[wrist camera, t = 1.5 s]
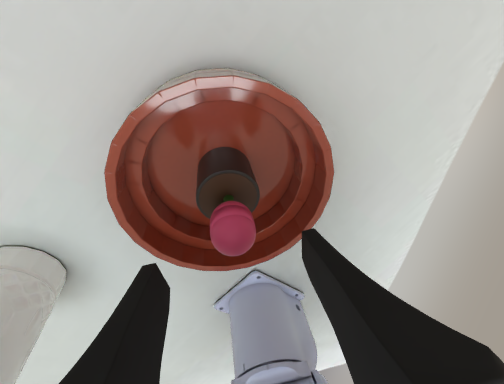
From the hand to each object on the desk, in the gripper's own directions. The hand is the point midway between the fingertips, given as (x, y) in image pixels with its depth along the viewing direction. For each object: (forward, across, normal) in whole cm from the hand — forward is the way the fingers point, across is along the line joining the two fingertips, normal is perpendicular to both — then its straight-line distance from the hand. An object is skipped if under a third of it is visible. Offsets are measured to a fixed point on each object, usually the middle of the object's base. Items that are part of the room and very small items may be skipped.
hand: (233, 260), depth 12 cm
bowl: (+10, 0, 0) cm, 10 cm away
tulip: (+9, 0, 0) cm, 9 cm away
